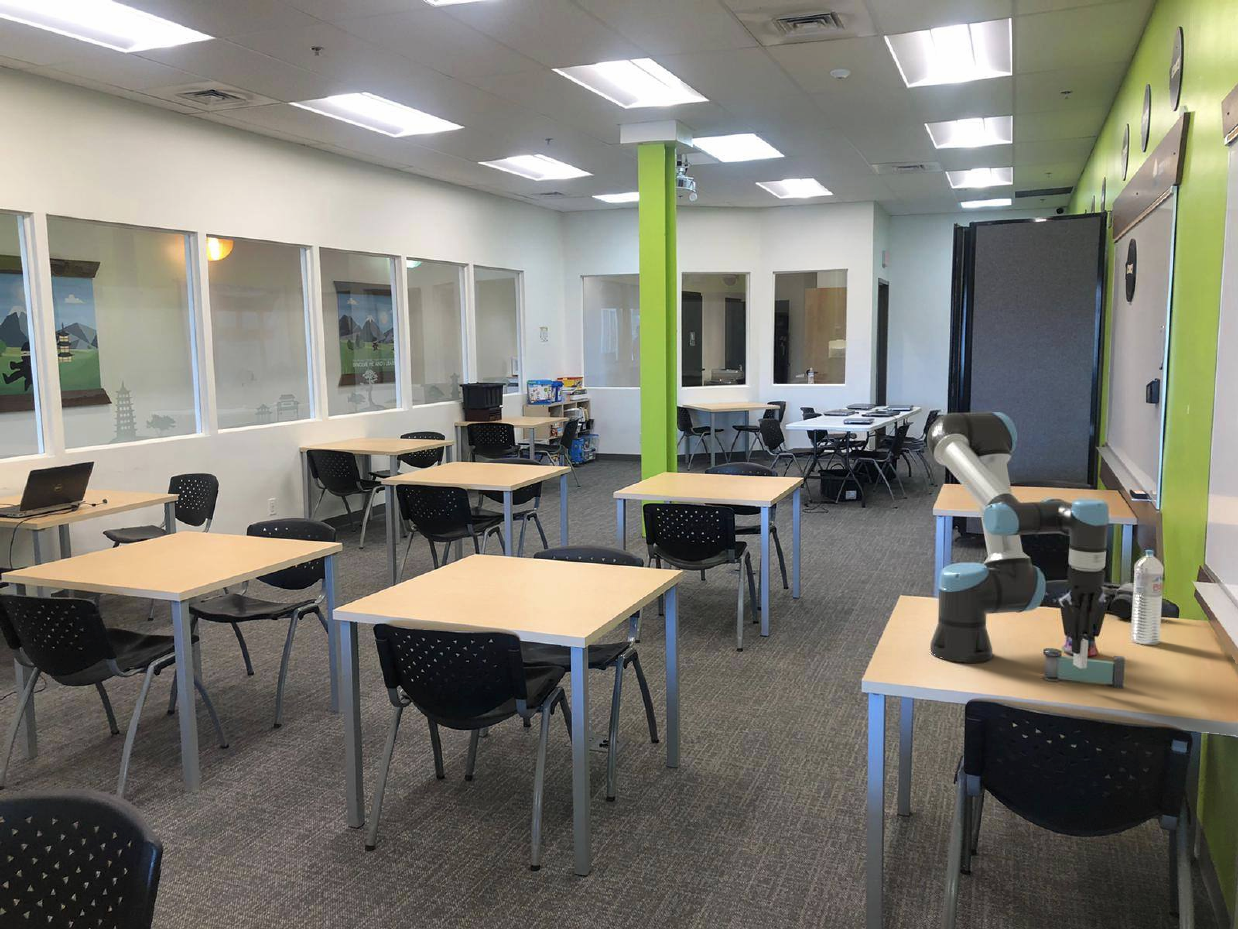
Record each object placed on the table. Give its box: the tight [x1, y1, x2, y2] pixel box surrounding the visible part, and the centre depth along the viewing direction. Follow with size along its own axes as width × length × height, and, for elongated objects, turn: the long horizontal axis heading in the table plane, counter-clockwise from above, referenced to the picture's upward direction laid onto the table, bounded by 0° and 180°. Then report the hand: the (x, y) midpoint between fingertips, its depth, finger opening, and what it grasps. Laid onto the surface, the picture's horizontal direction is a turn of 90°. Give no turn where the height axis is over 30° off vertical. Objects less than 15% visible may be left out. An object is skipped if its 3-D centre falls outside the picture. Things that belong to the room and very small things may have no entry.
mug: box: [1061, 609, 1099, 657], centre depth 242 cm, size 12×9×11 cm
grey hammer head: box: [1042, 647, 1063, 683], centre depth 222 cm, size 4×4×7 cm
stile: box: [1109, 655, 1126, 689], centre depth 217 cm, size 3×3×7 cm
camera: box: [1102, 581, 1134, 619], centre depth 272 cm, size 16×10×10 cm, turn 48°
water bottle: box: [1130, 549, 1165, 646], centre depth 248 cm, size 7×7×25 cm
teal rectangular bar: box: [1044, 655, 1114, 685], centre depth 220 cm, size 14×3×5 cm, turn 67°
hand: (1079, 666), depth 215 cm, fingers closed
